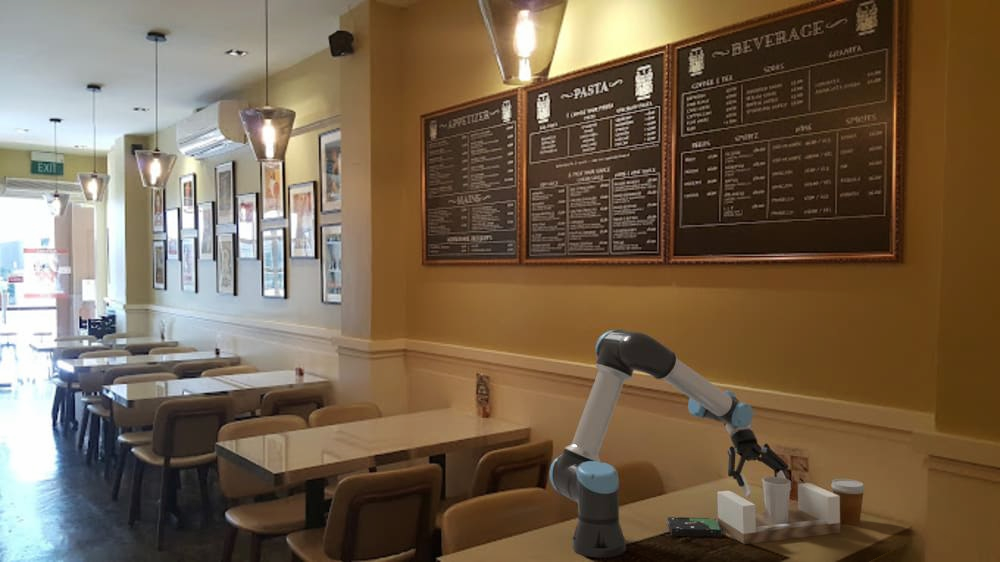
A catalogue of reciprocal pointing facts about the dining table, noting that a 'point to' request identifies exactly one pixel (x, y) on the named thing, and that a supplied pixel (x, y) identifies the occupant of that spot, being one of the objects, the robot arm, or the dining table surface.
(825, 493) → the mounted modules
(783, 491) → the cup
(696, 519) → the disk drive
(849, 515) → the disposable coffee cup
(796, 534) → the board
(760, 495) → the dining table surface
